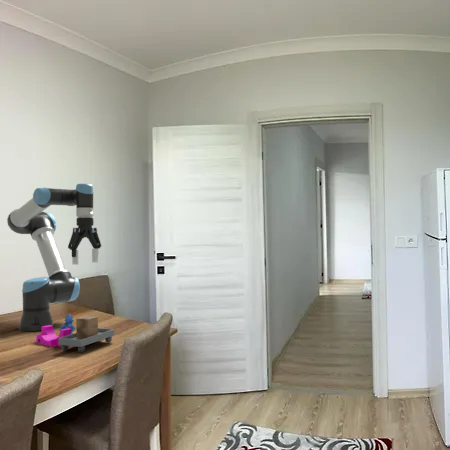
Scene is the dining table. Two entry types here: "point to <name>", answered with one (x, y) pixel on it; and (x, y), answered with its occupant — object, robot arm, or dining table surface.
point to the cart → (80, 343)
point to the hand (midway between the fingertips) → (85, 263)
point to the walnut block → (86, 326)
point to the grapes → (68, 323)
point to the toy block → (51, 336)
